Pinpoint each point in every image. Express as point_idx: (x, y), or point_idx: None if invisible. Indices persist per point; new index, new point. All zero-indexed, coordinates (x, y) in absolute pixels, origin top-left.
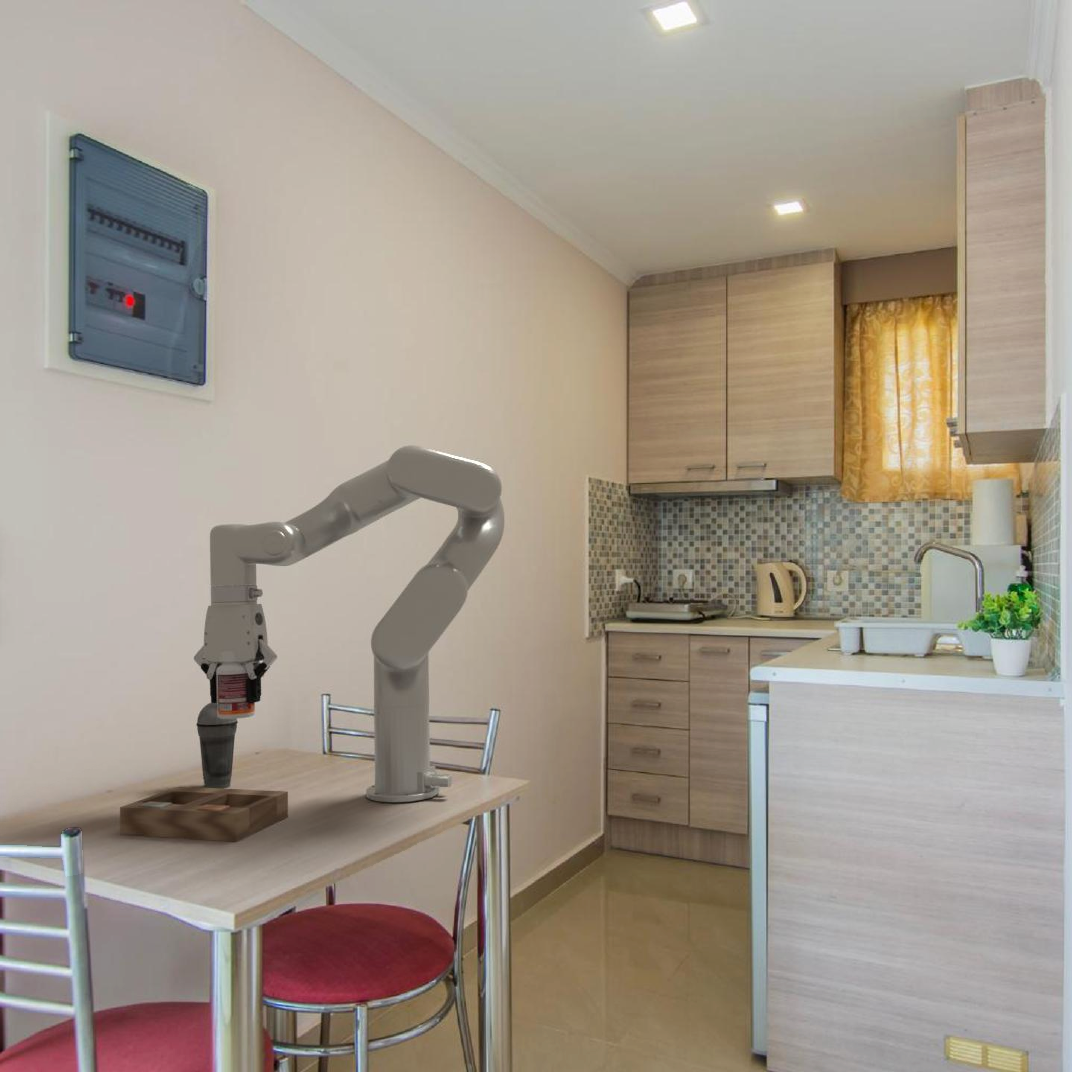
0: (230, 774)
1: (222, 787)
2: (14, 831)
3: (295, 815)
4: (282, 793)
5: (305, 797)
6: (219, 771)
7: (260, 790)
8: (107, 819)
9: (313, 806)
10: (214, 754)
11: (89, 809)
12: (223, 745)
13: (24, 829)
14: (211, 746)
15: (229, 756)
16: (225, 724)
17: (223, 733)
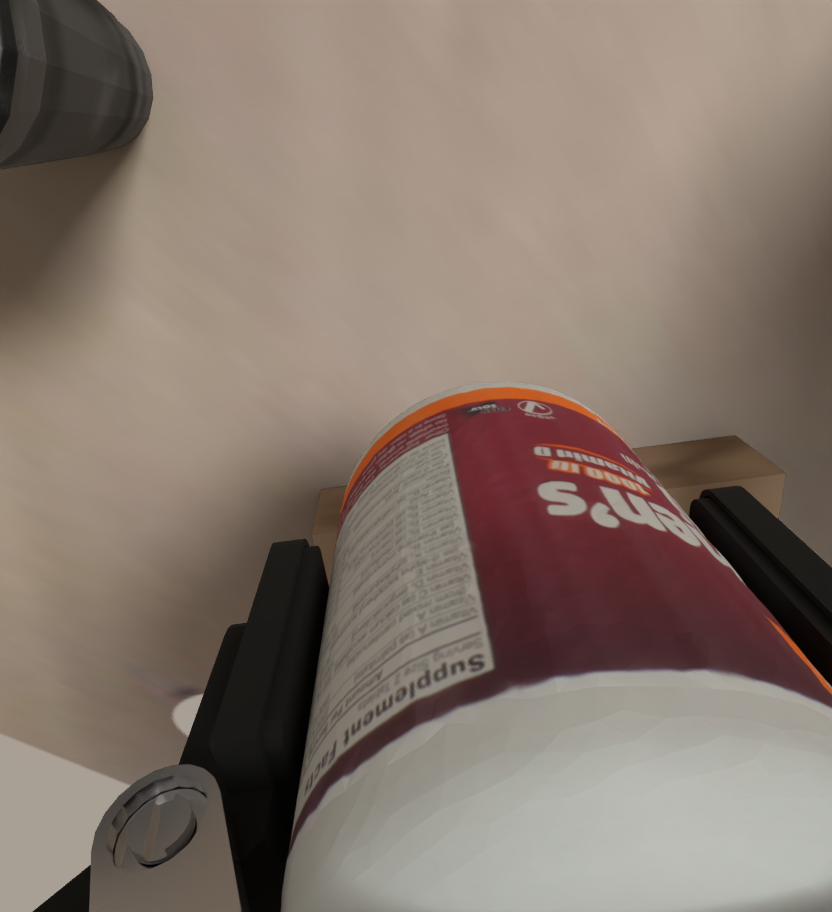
0: (127, 42)
1: (147, 109)
2: (78, 756)
3: (750, 408)
4: (779, 503)
5: (662, 148)
6: (116, 125)
7: (670, 491)
8: (189, 620)
9: (764, 279)
10: (60, 149)
11: (3, 562)
12: (67, 100)
13: (80, 740)
14: (20, 162)
15: (97, 47)
16: (1, 83)
17: (31, 102)
